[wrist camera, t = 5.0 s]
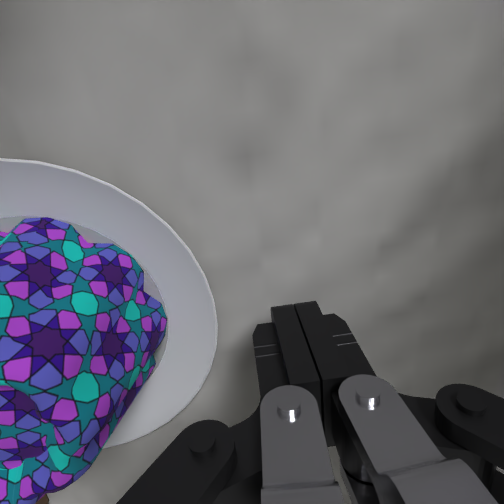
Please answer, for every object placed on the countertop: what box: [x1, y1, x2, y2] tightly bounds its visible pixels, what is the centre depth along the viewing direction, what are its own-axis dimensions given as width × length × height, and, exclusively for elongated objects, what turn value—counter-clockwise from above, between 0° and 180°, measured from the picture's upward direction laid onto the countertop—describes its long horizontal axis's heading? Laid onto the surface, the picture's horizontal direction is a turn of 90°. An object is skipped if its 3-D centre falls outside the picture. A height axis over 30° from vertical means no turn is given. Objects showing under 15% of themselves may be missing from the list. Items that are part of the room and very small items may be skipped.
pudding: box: [0, 158, 218, 504], centre depth 11 cm, size 12×12×5 cm
